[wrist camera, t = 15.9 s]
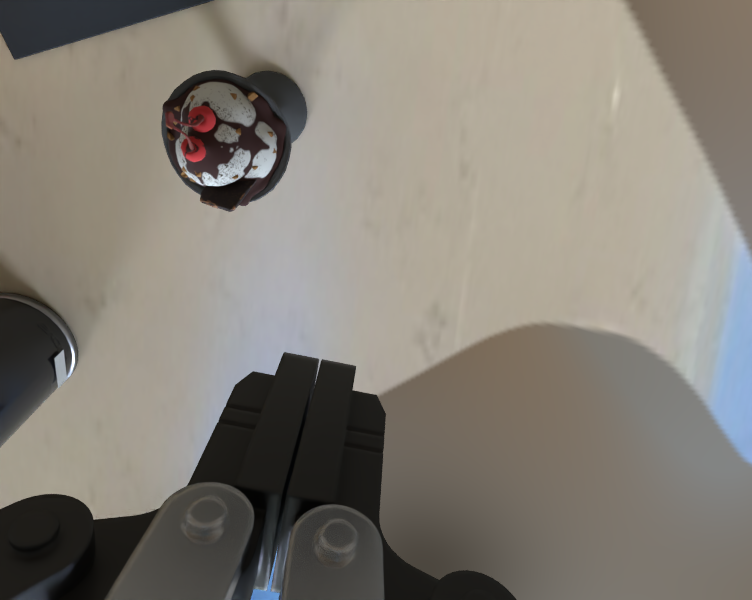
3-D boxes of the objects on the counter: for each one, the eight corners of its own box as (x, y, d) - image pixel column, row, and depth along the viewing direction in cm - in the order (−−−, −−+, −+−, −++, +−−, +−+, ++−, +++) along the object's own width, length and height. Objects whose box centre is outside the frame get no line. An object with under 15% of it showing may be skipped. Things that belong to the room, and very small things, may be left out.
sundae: (252, 33, 35) (152, 45, 21) (338, 100, 36) (296, 150, 23) (203, 119, 37) (88, 177, 24) (286, 178, 39) (220, 263, 26)
